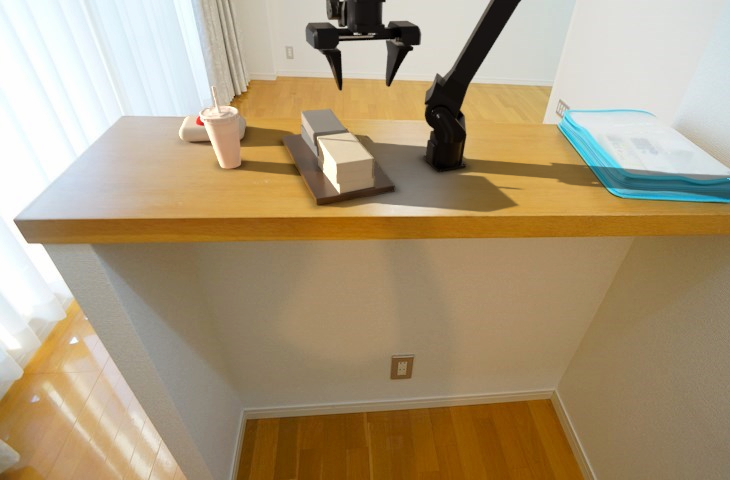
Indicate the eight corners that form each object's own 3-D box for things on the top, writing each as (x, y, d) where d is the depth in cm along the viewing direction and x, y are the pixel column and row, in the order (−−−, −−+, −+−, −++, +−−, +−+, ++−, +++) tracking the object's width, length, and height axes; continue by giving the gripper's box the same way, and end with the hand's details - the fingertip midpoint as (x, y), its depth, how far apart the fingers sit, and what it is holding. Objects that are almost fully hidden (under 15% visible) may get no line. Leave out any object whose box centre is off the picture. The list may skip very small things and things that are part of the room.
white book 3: (350, 159, 79) (350, 150, 77) (375, 186, 71) (375, 177, 70) (318, 165, 76) (317, 156, 75) (339, 193, 69) (339, 184, 68)
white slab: (244, 103, 89) (240, 121, 81) (248, 123, 92) (244, 142, 84) (183, 104, 87) (173, 122, 79) (189, 124, 89) (180, 143, 82)
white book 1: (352, 141, 76) (351, 132, 75) (374, 168, 69) (374, 158, 68) (317, 146, 74) (316, 136, 73) (336, 174, 66) (336, 163, 65)
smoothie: (213, 174, 74) (192, 93, 65) (211, 158, 78) (191, 80, 69) (250, 169, 76) (235, 90, 67) (246, 154, 80) (232, 78, 71)
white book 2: (352, 150, 77) (352, 141, 76) (373, 178, 70) (373, 168, 69) (318, 155, 75) (318, 145, 74) (336, 184, 68) (336, 174, 66)
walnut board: (346, 133, 90) (346, 128, 90) (394, 191, 73) (394, 185, 72) (282, 141, 86) (281, 136, 85) (316, 205, 68) (316, 199, 67)
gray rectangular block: (329, 133, 87) (329, 121, 86) (348, 155, 80) (348, 142, 78) (301, 136, 85) (300, 124, 83) (318, 159, 78) (317, 146, 76)
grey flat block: (331, 121, 86) (330, 108, 84) (346, 142, 78) (346, 129, 76) (302, 123, 84) (300, 111, 82) (315, 146, 76) (314, 132, 74)
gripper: (398, -22, 73) (393, 71, 83) (292, -24, 67) (301, 78, 77) (426, -13, 66) (418, 89, 76) (311, -14, 59) (318, 98, 69)
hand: (364, 87), depth 75 cm, fingers open, 9 cm apart
